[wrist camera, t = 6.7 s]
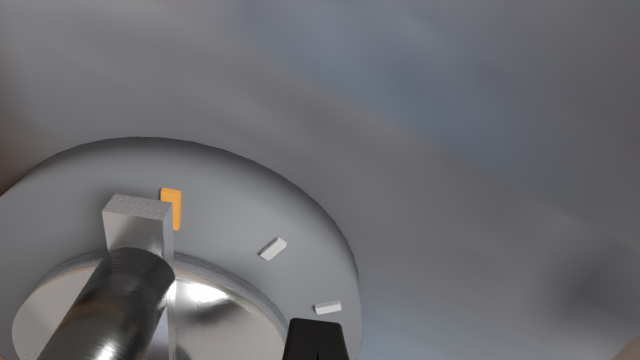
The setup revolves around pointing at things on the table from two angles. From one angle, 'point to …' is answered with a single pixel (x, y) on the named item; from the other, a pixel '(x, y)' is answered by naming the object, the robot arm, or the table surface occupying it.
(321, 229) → the dial base
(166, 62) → the table surface
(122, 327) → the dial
